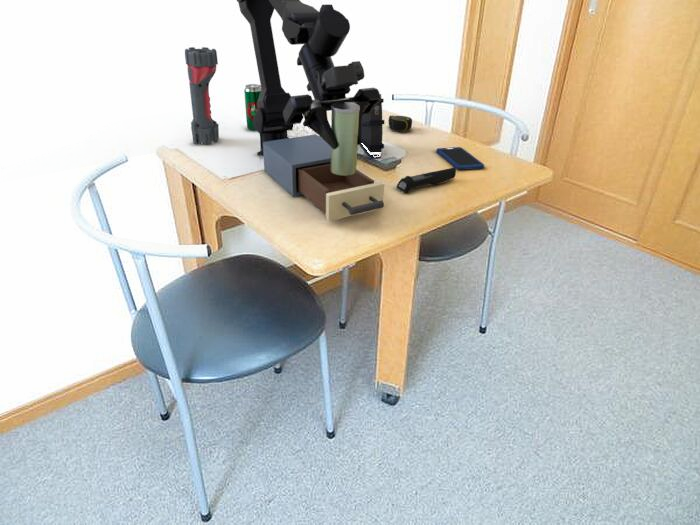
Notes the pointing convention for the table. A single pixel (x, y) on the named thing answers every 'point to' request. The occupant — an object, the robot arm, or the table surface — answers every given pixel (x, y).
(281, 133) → the robot arm
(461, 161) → the cell phone
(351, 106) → the tea tin
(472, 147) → the table surface
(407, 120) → the tape measure
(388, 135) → the table surface
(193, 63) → the flashlight
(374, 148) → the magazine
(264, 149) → the cabinet
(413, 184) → the electric trimmer
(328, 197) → the drawer
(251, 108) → the soda can
